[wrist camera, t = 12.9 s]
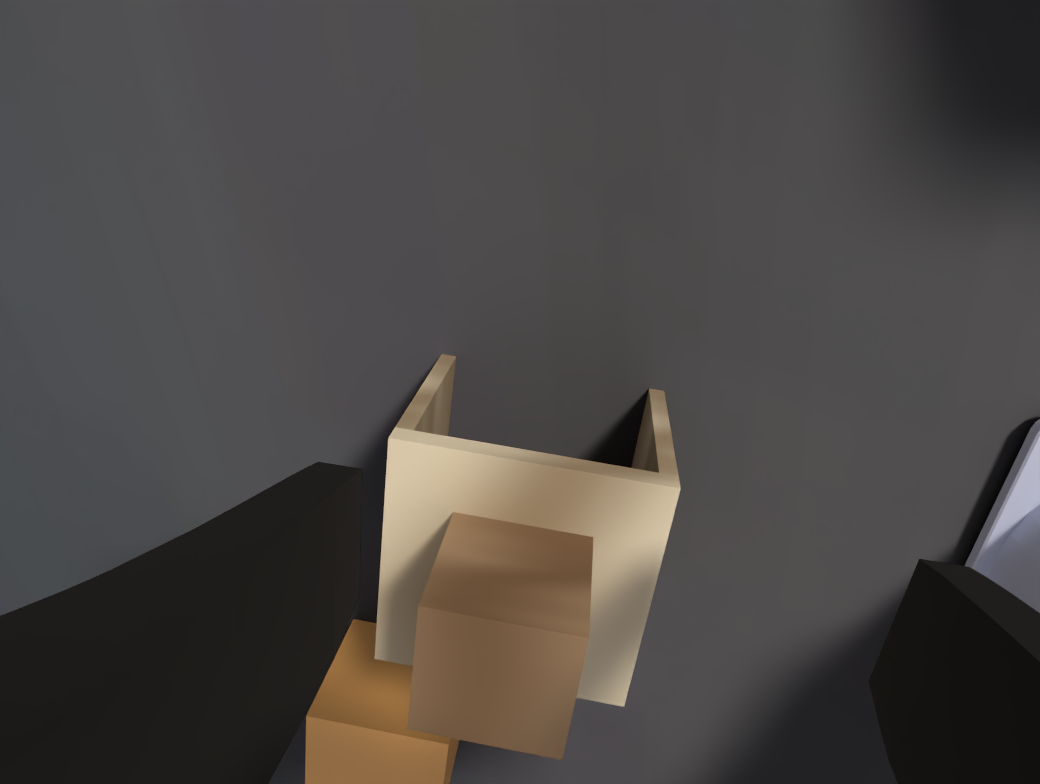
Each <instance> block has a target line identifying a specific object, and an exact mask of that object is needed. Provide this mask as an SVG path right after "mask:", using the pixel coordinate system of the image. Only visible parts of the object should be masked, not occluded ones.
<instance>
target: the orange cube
mask: <svg viewBox="0 0 1040 784" xmlns="http://www.w3.org/2000/svg"><path fill="white" fill-rule="evenodd" d="M376 627H377V623H372V622H367V621H362V620H357V619H353V621H352V623H351V625H350V627H349V629H348V631H347V633H346V635H345V637H344V639H343V641H342V644H341V646H340V648H339V650H338V652H337V654H336V656H335V658H334V661H333V662H332V664H331V666H330V668H329V670H328V672H327V674H326V676H325V678H324V681H323V683H322V685H321V687H320V689H319V691H318V693H317V695H316V697H315V699H314V701H313V703H312V705H311V707H310V709H309V711H308V713H307V716H306V760H305V784H449V783H450V778H451V774H452V770H453V765H454V761H455V757H456V753H457V748H458V744H459V740H458V739H453V738H448V737H443V736H438V735H433V734H428V733H423V732H418V731H413V730H408V729H407V724H408V713H409V702H410V691H411V680H412V669H413V666H409V665H404V664H399V663H394V662H389V661H383V660H378V659H375V643H376Z"/></svg>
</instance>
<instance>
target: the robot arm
mask: <svg viewBox="0 0 1040 784" xmlns="http://www.w3.org/2000/svg"><path fill="white" fill-rule="evenodd" d="M362 480H363V469H359V468H353V467H347V466H341V465H335V464H328V463H322V462H317V463H315V464H313V465H311V466H309V467H307V468H305V469H303V470H301V471H299V472H297V473H295V474H293V475H291V476H290V477H288V478H286V479H284V480H282V481H281V482H279V483H277V484H275V485H273V486H272V487H270V488H268V489H266V490H264V491H263V492H261V493H259V494H257V495H256V496H254V497H252V498H250V499H248V500H247V501H245V502H243V503H241V504H239V505H237V506H235V507H234V508H232V509H230V510H228V511H226V512H224V513H223V514H221V515H219V516H217V517H215V518H213V519H212V520H210V521H208V522H206V523H204V524H202V525H201V526H199V527H197V528H195V529H193V530H191V531H189V532H187V533H185V534H183V535H181V536H179V537H177V538H175V539H173V540H171V541H169V542H167V543H165V544H163V545H161V546H159V547H157V548H155V549H153V550H150V551H148V552H146V553H144V554H142V555H140V556H138V557H136V558H134V559H132V560H130V561H128V562H126V563H124V564H122V565H120V566H118V567H116V568H114V569H112V570H110V571H107V572H105V573H103V574H101V575H99V576H96V577H94V578H92V579H90V580H87V581H85V582H83V583H80V584H78V585H76V586H73V587H71V588H69V589H66V590H64V591H62V592H59V593H57V594H54V595H52V596H49V597H47V598H44V599H42V600H39V601H37V602H34V603H32V604H29V605H27V606H24V607H22V608H19V609H17V610H14V611H12V612H9V613H7V614H4V615H1V616H0V784H268V783H269V781H270V779H271V777H272V775H273V774H274V772H275V770H276V768H277V766H278V764H279V762H280V761H281V759H282V757H283V755H284V753H285V751H286V749H287V748H288V746H289V744H290V742H291V740H292V738H293V736H294V734H295V733H296V731H297V729H298V727H299V725H300V723H301V721H302V720H303V718H304V716H305V714H306V712H307V710H308V708H309V706H310V704H311V703H312V701H313V699H314V697H315V695H316V693H317V691H318V689H319V687H320V686H321V684H322V682H323V680H324V678H325V676H326V674H327V672H328V670H329V668H330V666H331V664H332V662H333V661H334V658H335V656H336V653H337V651H338V648H339V645H340V643H341V640H342V638H343V635H344V633H345V630H346V628H347V625H348V622H349V620H350V617H351V614H352V611H353V609H354V606H355V603H356V601H357V598H358V595H359V590H360V553H361V517H362ZM869 683H870V688H871V692H872V696H873V700H874V705H875V709H876V713H877V717H878V722H879V725H880V729H881V733H882V736H883V740H884V744H885V747H886V751H887V755H888V758H889V761H890V764H891V766H892V769H893V772H894V774H895V777H896V780H897V782H898V784H1040V419H1039V420H1038V421H1036V422H1035V423H1034V425H1033V426H1032V427H1031V429H1030V431H1029V433H1028V435H1027V437H1026V439H1025V441H1024V443H1023V445H1022V447H1021V449H1020V451H1019V453H1018V455H1017V458H1016V460H1015V462H1014V464H1013V466H1012V468H1011V470H1010V472H1009V474H1008V476H1007V478H1006V480H1005V482H1004V485H1003V487H1002V489H1001V491H1000V493H999V495H998V497H997V499H996V501H995V503H994V505H993V507H992V510H991V512H990V514H989V516H988V518H987V520H986V522H985V524H984V526H983V528H982V530H981V532H980V534H979V537H978V539H977V541H976V543H975V545H974V547H973V549H972V551H971V553H970V555H969V557H968V559H967V561H966V564H965V566H960V565H954V564H948V563H942V562H936V561H929V560H923V559H919V561H918V564H917V566H916V568H915V571H914V573H913V576H912V578H911V580H910V583H909V585H908V588H907V590H906V592H905V595H904V597H903V600H902V602H901V605H900V607H899V609H898V612H897V614H896V617H895V619H894V621H893V624H892V626H891V629H890V631H889V633H888V636H887V638H886V641H885V643H884V646H883V648H882V650H881V653H880V655H879V658H878V660H877V662H876V665H875V667H874V670H873V672H872V674H871V677H870V679H869Z"/></svg>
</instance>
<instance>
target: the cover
mask: <svg viewBox="0 0 1040 784" xmlns="http://www.w3.org/2000/svg"><path fill="white" fill-rule="evenodd" d="M455 363H456V356H450V355H444V354H441V356H440V357H439V359H438V360H437V362H436V364H435V365H434V367H433V368H432V370H431V371H430V373H429V375H428V376H427V378H426V379H425V381H424V382H423V384H422V386H421V387H420V389H419V390H418V392H417V393H416V395H415V397H414V398H413V400H412V401H411V403H410V404H409V406H408V408H407V409H406V411H405V412H404V414H403V415H402V417H401V419H400V420H399V422H398V423H397V425H396V427H395V428H394V430H393V431H392V433H391V434H390V436H389V438H388V451H387V467H386V483H385V499H384V515H383V531H382V547H381V563H380V579H379V595H378V611H377V627H376V643H375V659H378V660H383V661H389V662H394V663H399V664H404V665H409V666H413V669H412V680H411V691H410V702H409V713H408V724H407V729H408V730H413V731H418V732H423V733H428V734H433V735H438V736H443V737H448V738H453V739H458V740H463V741H468V742H474V743H479V744H484V745H489V746H494V747H499V748H504V749H509V750H514V751H519V752H524V753H529V754H534V755H539V756H545V757H550V758H555V759H560V760H562V759H563V755H564V750H565V746H566V741H567V737H568V732H569V728H570V723H571V719H572V714H573V710H574V705H575V701H576V698H581V699H587V700H592V701H597V702H602V703H607V704H613V705H618V706H623V707H624V705H625V701H626V697H627V693H628V689H629V686H630V682H631V678H632V674H633V670H634V666H635V662H636V659H637V655H638V651H639V647H640V643H641V639H642V635H643V632H644V628H645V624H646V620H647V616H648V612H649V608H650V605H651V601H652V597H653V593H654V589H655V585H656V582H657V578H658V574H659V570H660V566H661V562H662V558H663V555H664V551H665V547H666V543H667V539H668V535H669V531H670V528H671V524H672V520H673V516H674V512H675V508H676V504H677V501H678V497H679V493H680V489H681V488H680V482H679V476H678V470H677V465H676V459H675V453H674V447H673V441H672V435H671V429H670V423H669V417H668V411H667V406H666V400H665V394H664V391H661V390H655V389H649V391H648V395H647V400H646V404H645V409H644V413H643V418H642V422H641V426H640V431H639V435H638V440H637V444H636V449H635V453H634V458H633V462H632V467H631V468H628V467H622V466H617V465H611V464H605V463H599V462H593V461H588V460H582V459H576V458H570V457H565V456H559V455H553V454H547V453H541V452H536V451H530V450H524V449H518V448H513V447H507V446H501V445H495V444H489V443H484V442H478V441H472V440H466V439H461V438H455V437H449V436H448V432H449V422H450V412H451V402H452V392H453V383H454V373H455Z"/></svg>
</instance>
